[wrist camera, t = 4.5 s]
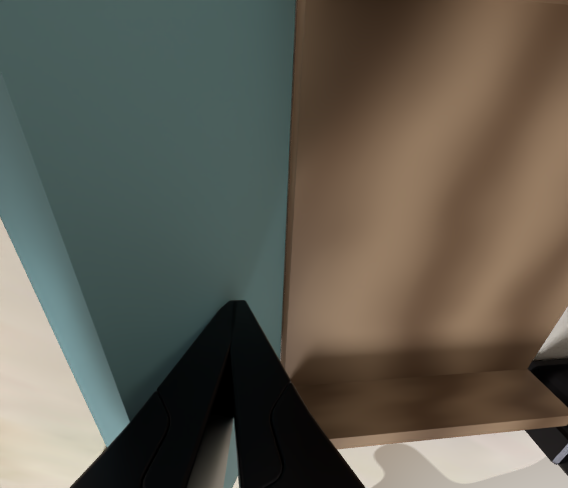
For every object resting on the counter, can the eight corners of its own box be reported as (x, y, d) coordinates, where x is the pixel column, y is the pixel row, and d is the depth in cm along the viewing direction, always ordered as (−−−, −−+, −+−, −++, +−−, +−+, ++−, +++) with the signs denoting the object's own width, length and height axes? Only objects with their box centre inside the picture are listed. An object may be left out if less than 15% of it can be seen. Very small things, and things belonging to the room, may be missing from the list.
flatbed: (689, 3, 11) (985, -64, 7) (496, 354, 20) (566, 425, 16) (298, -35, 9) (342, -164, 5) (280, 369, 18) (289, 454, 14)
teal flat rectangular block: (296, -7, 8) (-247, -608, 1) (279, 383, 16) (189, 583, 9) (247, -3, 8) (-330, -423, 2) (254, 374, 16) (151, 557, 10)
